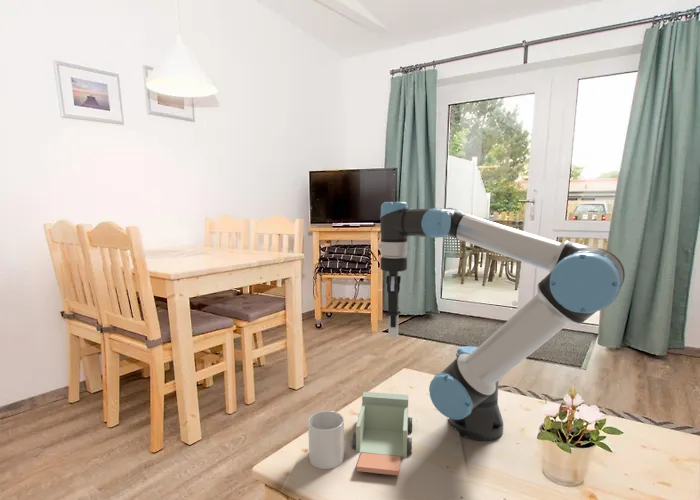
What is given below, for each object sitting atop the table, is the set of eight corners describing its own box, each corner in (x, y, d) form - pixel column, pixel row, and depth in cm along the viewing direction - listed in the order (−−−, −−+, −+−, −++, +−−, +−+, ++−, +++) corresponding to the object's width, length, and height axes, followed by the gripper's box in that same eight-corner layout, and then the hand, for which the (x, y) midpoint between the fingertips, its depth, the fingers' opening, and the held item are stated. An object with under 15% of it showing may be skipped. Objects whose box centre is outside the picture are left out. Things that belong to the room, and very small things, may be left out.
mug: (340, 475, 94) (340, 431, 93) (305, 471, 95) (304, 428, 94) (348, 445, 106) (348, 406, 105) (316, 442, 107) (316, 403, 106)
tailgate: (401, 455, 99) (400, 471, 90) (401, 461, 99) (400, 478, 90) (360, 451, 101) (355, 466, 92) (360, 457, 101) (355, 473, 92)
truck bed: (412, 428, 114) (412, 395, 113) (411, 460, 99) (411, 423, 98) (359, 423, 116) (359, 391, 115) (351, 454, 102) (351, 418, 100)
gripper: (382, 253, 118) (382, 329, 121) (378, 259, 105) (378, 343, 108) (407, 253, 117) (406, 330, 119) (406, 259, 104) (405, 345, 107)
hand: (393, 336), depth 114 cm, fingers closed
